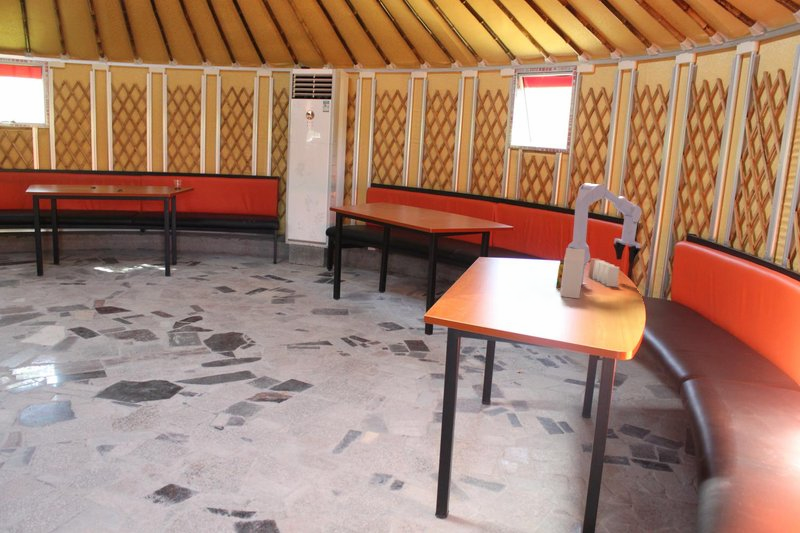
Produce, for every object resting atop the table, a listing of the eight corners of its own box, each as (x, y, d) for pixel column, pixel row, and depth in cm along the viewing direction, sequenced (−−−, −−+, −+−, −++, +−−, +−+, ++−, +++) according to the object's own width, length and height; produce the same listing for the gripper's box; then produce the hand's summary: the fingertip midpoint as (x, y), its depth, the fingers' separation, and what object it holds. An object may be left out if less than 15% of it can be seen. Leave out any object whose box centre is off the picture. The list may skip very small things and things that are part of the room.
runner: (620, 288, 278) (620, 287, 278) (606, 287, 277) (606, 286, 277) (597, 277, 301) (597, 276, 301) (584, 276, 300) (584, 275, 300)
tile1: (616, 286, 279) (619, 267, 278) (607, 285, 279) (610, 266, 277) (615, 285, 281) (618, 266, 279) (606, 285, 280) (608, 266, 278)
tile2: (611, 284, 284) (614, 265, 282) (602, 283, 283) (605, 264, 282) (610, 283, 285) (613, 264, 284) (601, 282, 285) (604, 264, 283)
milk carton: (579, 298, 250) (585, 251, 247) (560, 296, 252) (566, 249, 248) (578, 295, 257) (584, 248, 254) (560, 293, 258) (565, 246, 255)
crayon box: (555, 287, 269) (559, 260, 266) (556, 286, 271) (559, 259, 269) (573, 290, 267) (577, 262, 264) (574, 288, 269) (577, 261, 267)
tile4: (602, 279, 293) (605, 261, 292) (593, 279, 293) (596, 260, 291) (601, 278, 295) (604, 260, 293) (592, 278, 294) (594, 260, 292)
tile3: (607, 281, 289) (609, 263, 287) (597, 281, 288) (600, 262, 287) (606, 281, 290) (608, 262, 288) (596, 280, 289) (599, 262, 288)
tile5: (598, 277, 298) (600, 259, 297) (589, 276, 297) (591, 258, 296) (597, 276, 299) (599, 258, 298) (588, 276, 299) (590, 258, 297)
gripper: (648, 234, 283) (643, 264, 285) (624, 229, 296) (620, 258, 298) (635, 233, 280) (631, 264, 282) (612, 228, 293) (608, 257, 295)
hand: (624, 261), depth 290 cm, fingers open, 7 cm apart
